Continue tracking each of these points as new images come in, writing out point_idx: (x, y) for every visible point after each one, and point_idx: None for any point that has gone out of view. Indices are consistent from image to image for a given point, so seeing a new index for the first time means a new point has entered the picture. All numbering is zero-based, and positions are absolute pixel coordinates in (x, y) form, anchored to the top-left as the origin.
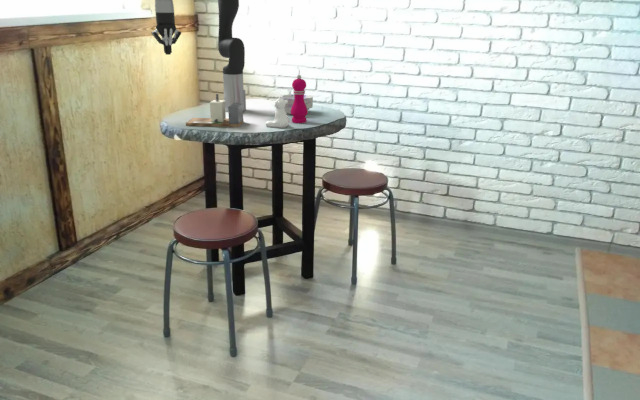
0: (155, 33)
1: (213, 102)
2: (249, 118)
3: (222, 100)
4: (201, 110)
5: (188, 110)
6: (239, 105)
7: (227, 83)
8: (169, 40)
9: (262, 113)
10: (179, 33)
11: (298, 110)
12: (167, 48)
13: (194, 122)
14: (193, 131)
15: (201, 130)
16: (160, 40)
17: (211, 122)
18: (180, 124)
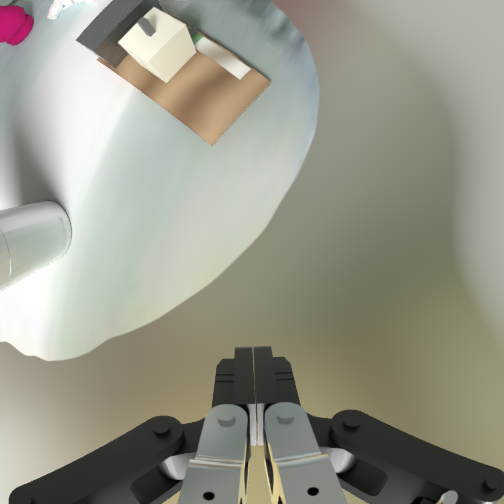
0: (489, 483)
1: (175, 19)
2: (65, 99)
3: (126, 42)
4: (126, 288)
5: (161, 310)
6: (110, 3)
7: (10, 234)
8: (237, 454)
9: (14, 153)
10: (37, 500)
11: (17, 6)
12: (272, 379)
13: (246, 66)
14: (281, 17)
15: (256, 16)
16: (388, 437)
17: (200, 43)
18: (275, 112)
